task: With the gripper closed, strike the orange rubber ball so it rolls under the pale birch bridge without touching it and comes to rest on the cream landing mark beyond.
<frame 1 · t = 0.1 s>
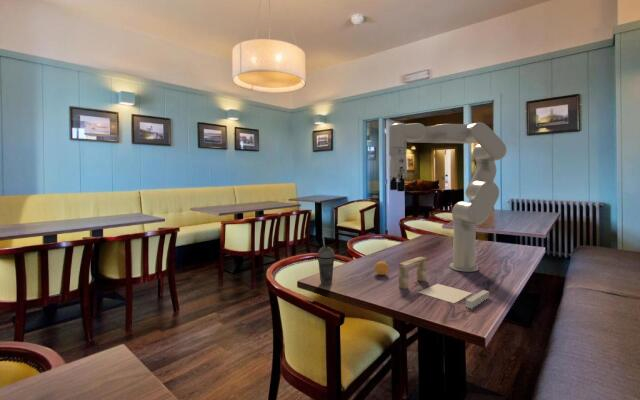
hand: (397, 190, 148), 37 cm above the table, tool pointing down, fingers open, 9 cm apart
bridge: (412, 283, 134), on the table
ball: (381, 268, 146), on the table
landing mark: (445, 293, 124), on the table
beverage cup: (326, 284, 135), on the table
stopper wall: (477, 302, 115), on the table
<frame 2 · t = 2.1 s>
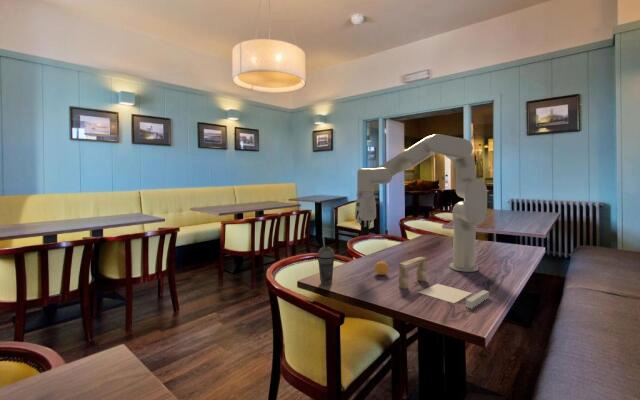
hand: (365, 234, 152), 17 cm above the table, tool pointing down, fingers closed
nothing on the table moved.
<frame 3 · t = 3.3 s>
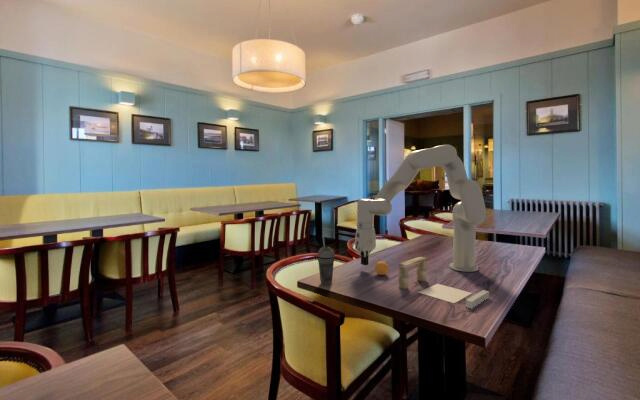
hand: (364, 264, 153), 3 cm above the table, tool pointing down, fingers closed
nothing on the table moved.
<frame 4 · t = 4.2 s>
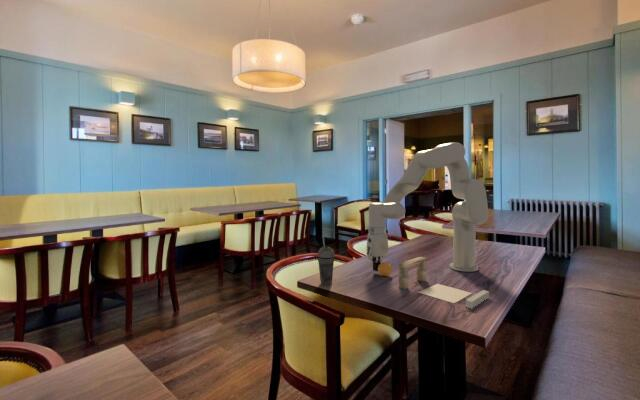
hand: (376, 270, 148), 1 cm above the table, tool pointing down, fingers closed
ball: (384, 269, 144), on the table, touching gripper
everything else where it was.
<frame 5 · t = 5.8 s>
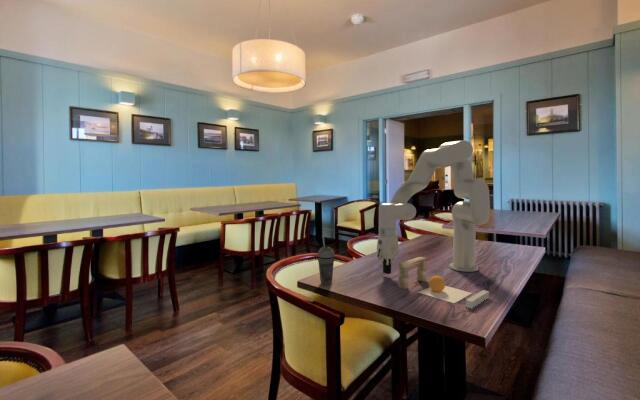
hand: (387, 273, 144), 2 cm above the table, tool pointing down, fingers closed
ball: (436, 283, 125), on the table
everything else where it was.
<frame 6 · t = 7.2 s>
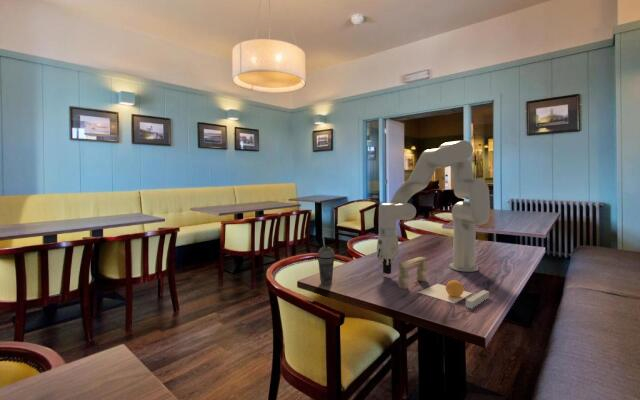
hand: (387, 273, 144), 2 cm above the table, tool pointing down, fingers closed
ball: (454, 288, 120), on the table
everything else where it was.
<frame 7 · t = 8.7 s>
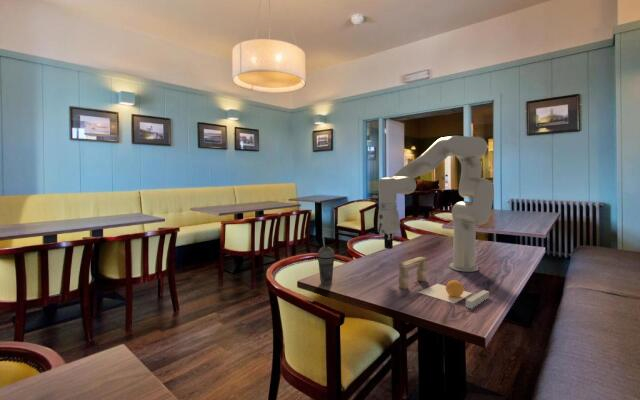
hand: (388, 248, 143), 13 cm above the table, tool pointing down, fingers closed
nothing on the table moved.
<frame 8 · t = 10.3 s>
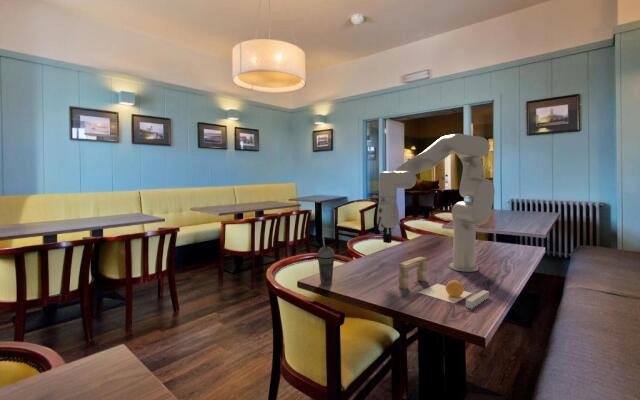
hand: (387, 242, 143), 15 cm above the table, tool pointing down, fingers closed
nothing on the table moved.
at the end: ball 4.0 cm from the landing mark (horizontally); ball never touched bridge; ball at rest at the end (0.0 cm/s) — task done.
